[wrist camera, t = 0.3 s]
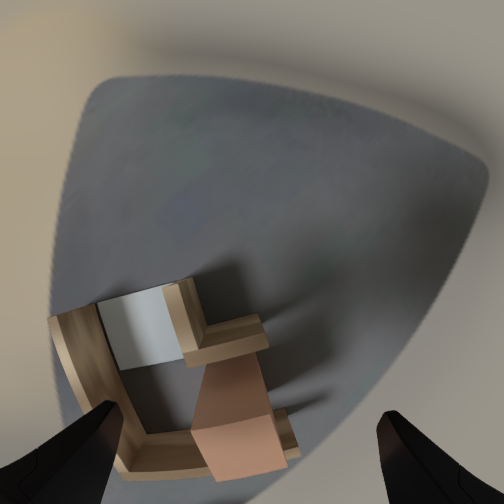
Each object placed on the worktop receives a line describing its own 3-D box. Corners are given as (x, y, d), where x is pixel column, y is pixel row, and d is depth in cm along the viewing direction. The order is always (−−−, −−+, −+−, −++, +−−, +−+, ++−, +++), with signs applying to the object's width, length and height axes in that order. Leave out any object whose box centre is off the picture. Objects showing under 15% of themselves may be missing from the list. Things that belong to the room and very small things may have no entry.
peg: (267, 392, 22) (288, 467, 12) (221, 403, 22) (216, 481, 12) (254, 351, 22) (270, 414, 12) (206, 363, 22) (190, 430, 12)
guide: (287, 416, 22) (301, 455, 16) (142, 442, 21) (124, 480, 15) (243, 263, 22) (246, 264, 16) (85, 305, 21) (46, 318, 15)
